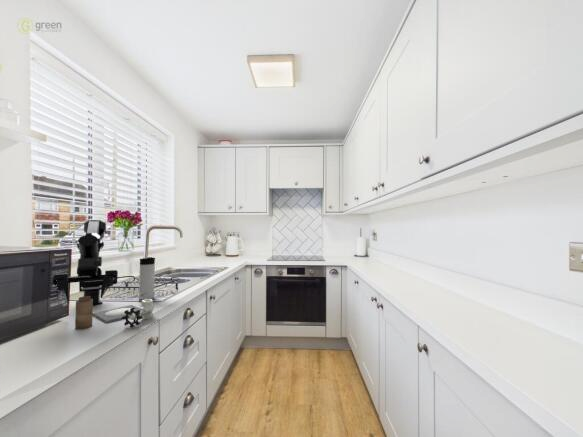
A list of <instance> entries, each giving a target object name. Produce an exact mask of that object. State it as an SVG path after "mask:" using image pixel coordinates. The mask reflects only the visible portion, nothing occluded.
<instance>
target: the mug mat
mask: <svg viewBox="0 0 583 437" xmlns="http://www.w3.org/2000/svg"><path fill="white" fill-rule="evenodd" d="M133 307H134V308H135V309H134V311H137V310H139V309H140V308H141V307H138V306H135V305H133V304H129V305H124V306H120V307H114V308H111V309H106V310H101V311H95V312H93V316H92V317H95V318H96V319H98V320H99V321H102V322H103V323H105V324H110V323H113V322H117V321H121V320H123V319H122V317H123V316H126V314H125V313H124V312H125V311H126V310H129V312H130V309H131V308H133ZM132 314H134V313H132ZM130 316H131V315H128V319H130Z"/></svg>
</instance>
